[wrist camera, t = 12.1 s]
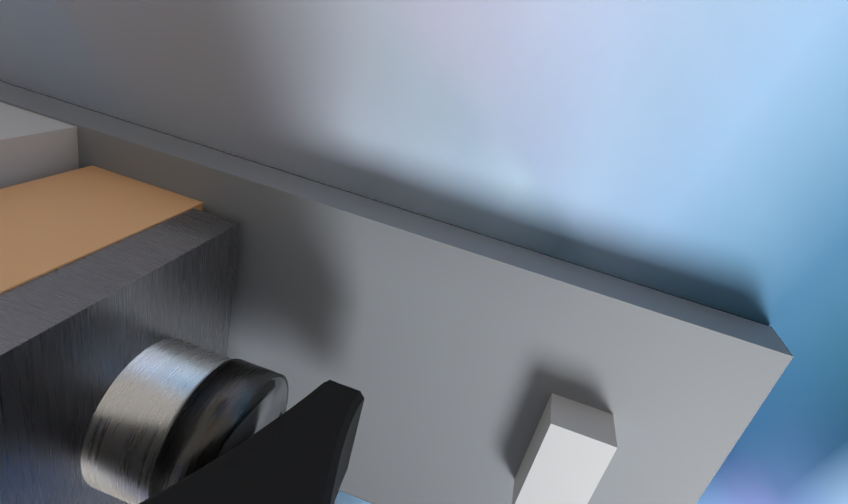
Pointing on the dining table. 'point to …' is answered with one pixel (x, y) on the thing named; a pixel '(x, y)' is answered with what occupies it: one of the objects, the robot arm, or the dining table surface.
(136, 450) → the shaft
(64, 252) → the block
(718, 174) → the dining table surface
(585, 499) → the rail
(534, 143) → the dining table surface
